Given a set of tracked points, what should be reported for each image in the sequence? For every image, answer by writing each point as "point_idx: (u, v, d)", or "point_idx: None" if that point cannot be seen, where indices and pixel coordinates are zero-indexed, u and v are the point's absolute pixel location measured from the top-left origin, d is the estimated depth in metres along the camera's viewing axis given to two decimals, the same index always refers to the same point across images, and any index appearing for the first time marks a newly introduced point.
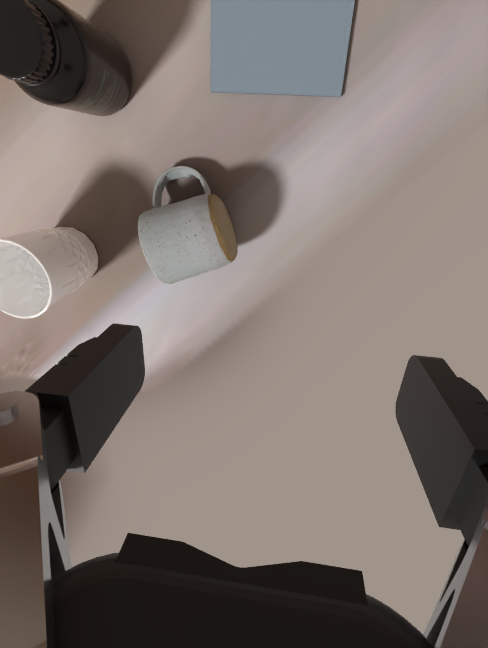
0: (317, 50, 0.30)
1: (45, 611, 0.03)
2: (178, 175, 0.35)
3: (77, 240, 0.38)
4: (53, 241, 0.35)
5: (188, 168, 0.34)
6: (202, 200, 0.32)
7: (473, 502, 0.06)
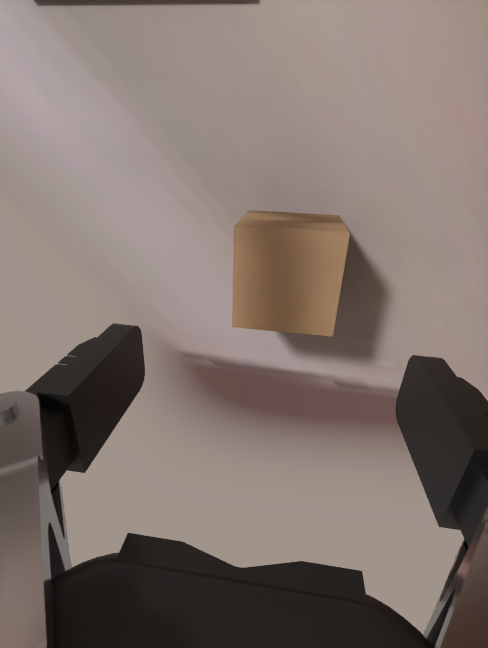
0: None
1: (45, 611, 0.03)
2: None
3: None
4: None
5: None
6: None
7: (473, 502, 0.06)
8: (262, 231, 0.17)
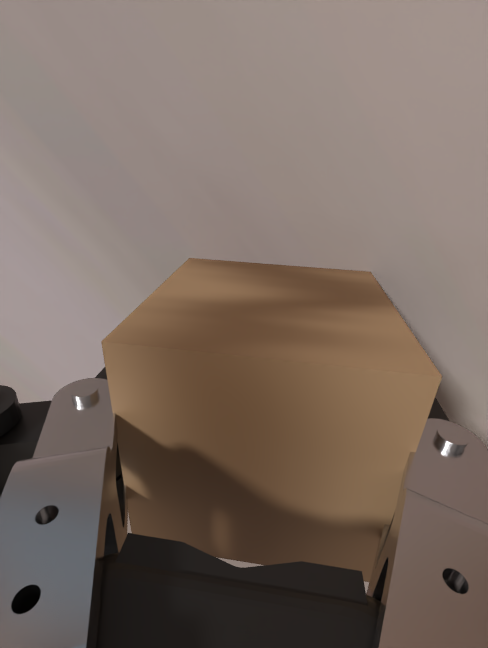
0: None
1: (90, 610, 0.03)
2: None
3: None
4: None
5: None
6: None
7: None
8: (181, 357, 0.06)
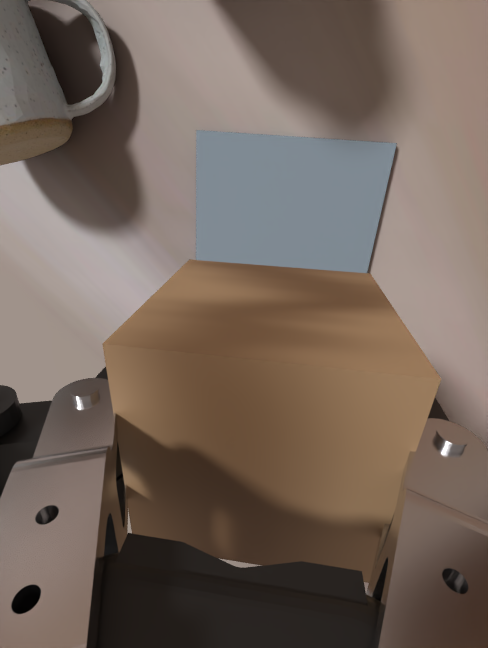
0: None
1: (90, 610, 0.03)
2: (100, 46, 0.20)
3: None
4: None
5: (109, 71, 0.20)
6: (33, 108, 0.18)
7: None
8: (181, 359, 0.06)
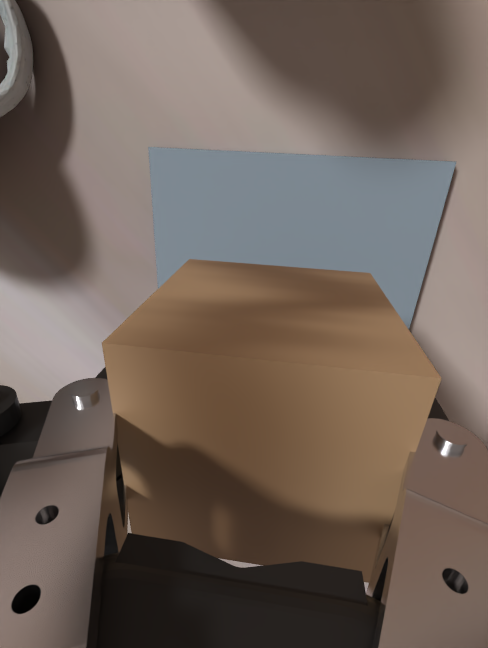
0: None
1: (90, 610, 0.03)
2: (2, 17, 0.13)
3: None
4: None
5: (15, 55, 0.12)
6: None
7: None
8: (180, 358, 0.06)
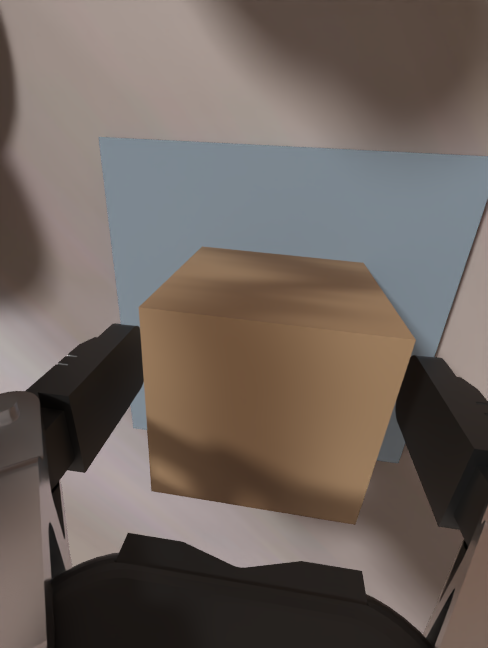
0: None
1: (45, 611, 0.03)
2: None
3: None
4: None
5: None
6: None
7: (472, 502, 0.06)
8: (204, 321, 0.07)
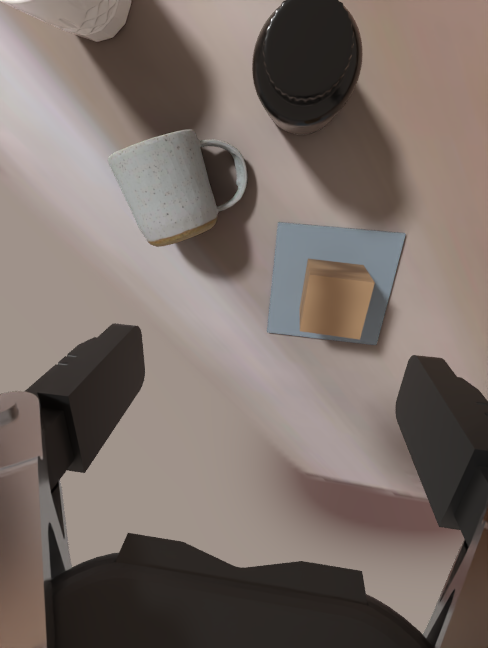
0: (299, 314, 0.37)
1: (45, 611, 0.03)
2: (238, 170, 0.32)
3: (110, 19, 0.27)
4: None
5: (244, 186, 0.32)
6: (207, 216, 0.30)
7: (473, 502, 0.06)
8: (325, 278, 0.30)
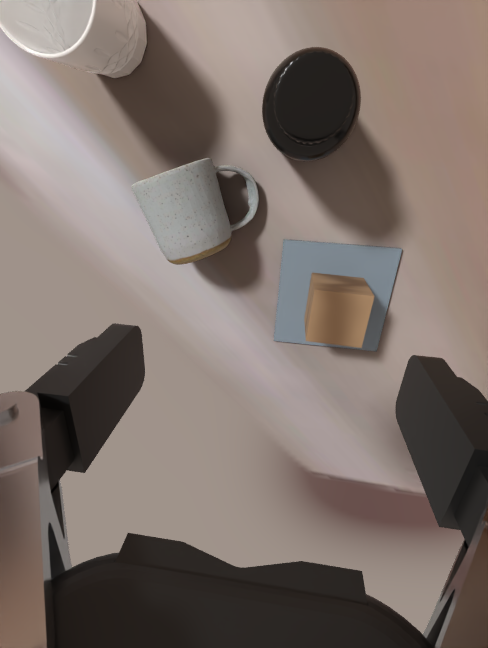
0: (303, 324, 0.40)
1: (45, 611, 0.03)
2: (250, 192, 0.34)
3: (128, 60, 0.29)
4: (115, 44, 0.26)
5: (255, 207, 0.34)
6: (223, 236, 0.32)
7: (473, 502, 0.06)
8: (328, 292, 0.32)
